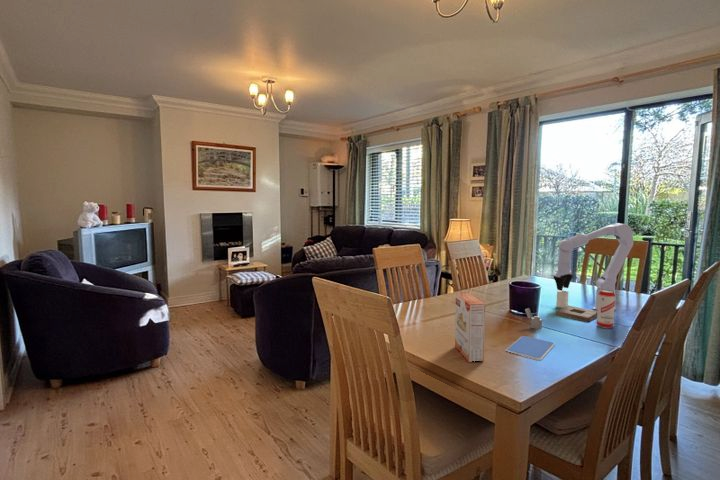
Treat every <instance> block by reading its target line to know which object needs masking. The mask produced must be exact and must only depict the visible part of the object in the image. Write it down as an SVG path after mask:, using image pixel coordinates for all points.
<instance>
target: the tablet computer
mask: <svg viewBox="0 0 720 480" xmlns="http://www.w3.org/2000/svg"><path fill="white" fill-rule="evenodd" d="M555 346H556V343H555V342H553V341H548V340H545V339H538V338H535V337H531V336H527V335H526V336H525V335H521V336H520V337H519V338H518V339H517V340H515V341H514V342H513V343H512V344H511V345H509V347H507V348H506V349H505V352H506V351H508V352H507V353H509V352H511V353H510V354H512V353H515V354H514V355H516V354H518V355H517V356H520V355H521V357H525V358H528V359H533V360H536V361H542V360H543V359H544V358H545V357H546V356H547V355H548V353H549V352H550V351H551V350H552V349H553V348H554V347H555Z"/></svg>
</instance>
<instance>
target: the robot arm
mask: <svg viewBox="0 0 720 480" xmlns="http://www.w3.org/2000/svg"><path fill="white" fill-rule="evenodd" d="M633 234H634V231H633V229H632V228H631V226H630V225H628V224H627V223H626V224H625V223H620V222H616V223H613V224H607V225H606V226H603V227H601V228H599V229H596V230H594V231H591V232H589V233H586V234H585V233H580V232H578V233H576V235H574V236H571V237H569V236H568V237H567V238H566V239H561V240H560V241H559V242H558V244H557V247H558V257H557V259H558V261H557V269H556V270H555V271H554V272H555V275H553V279H554V281H555V285H556V290H557V291H559V290H561V291H563V289H565V288H566V289H569V287H570V283H571V281H572V279H573V278H574V274H572V269H571V267H572V266H571V264H572V263H571V262H572V250H573V249H576V248H578V247H581V246H582V247H583V246H585V245H587V244H588V243H589V242H590V241H591V240H594V239H597V238H601V237H603V236H606V235H608V236H609V235H610V236H613V237H615V238H616V240H617V241H618V243H619V244H618V247H617V248H616V250H615V252H614V254H613V255H612V257H611V260H610V262H609V264H608V266H607V267H606V269H605V271H604V272H603V273H602V274H601V275H600V276H599V278H597V279H596V281H595V287H596V288H597V289H596V292H595V303H594V304H595V305H594V306H593V307H592V308H591V310H594V311H597V308H598V294H599V292H600V290H612V291H614V292H615V290H616V283H617V276H618V275H619V273H620V271H621V269H622V268H623V265H624V263H625V261H626V259H627V257H628V255H629V254H630V252H631V250H632V248H633V247H634V243H635V242H634V236H633ZM616 309H617V308H616V307H615V310H616Z"/></svg>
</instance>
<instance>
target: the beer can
mask: <svg viewBox="0 0 720 480" xmlns="http://www.w3.org/2000/svg"><path fill="white" fill-rule="evenodd" d="M615 306H616V294H615V290H614V291H612V290H600V292H599V294H598V308H597V310H596V311H597V317H596V325H597V326H598V327H600V328H601V329H611V328H613V327H614V324H615V323H614V321H615V311H616V309H615V308H616V307H615Z"/></svg>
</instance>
